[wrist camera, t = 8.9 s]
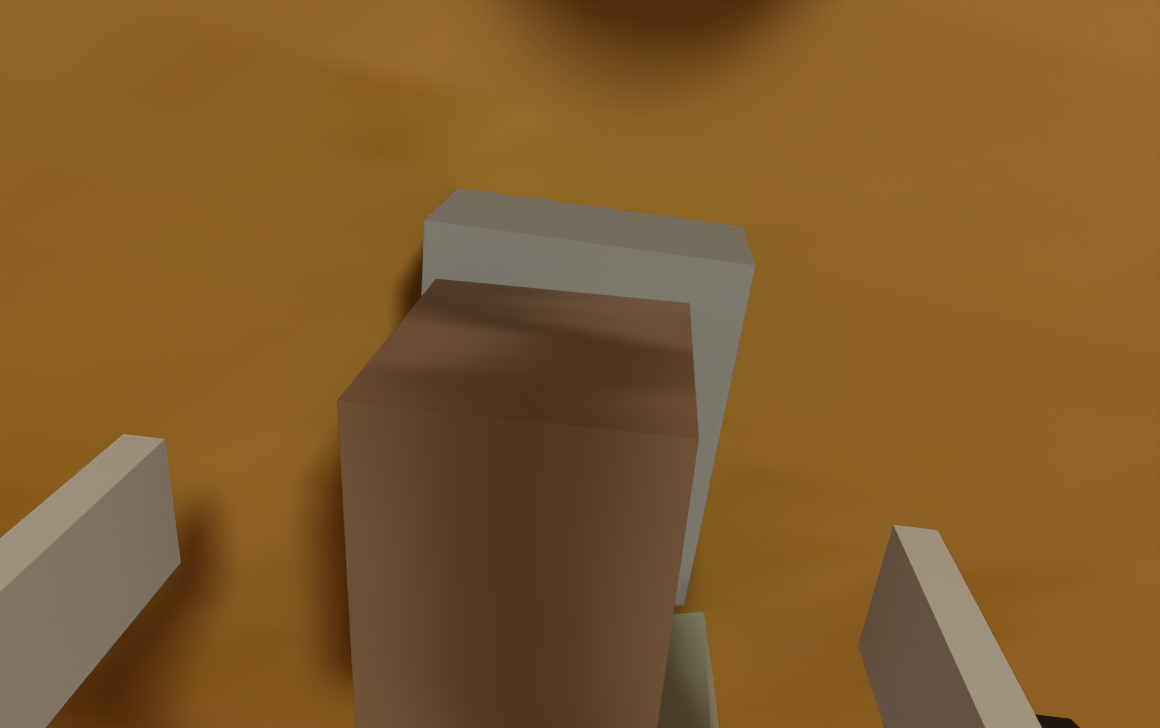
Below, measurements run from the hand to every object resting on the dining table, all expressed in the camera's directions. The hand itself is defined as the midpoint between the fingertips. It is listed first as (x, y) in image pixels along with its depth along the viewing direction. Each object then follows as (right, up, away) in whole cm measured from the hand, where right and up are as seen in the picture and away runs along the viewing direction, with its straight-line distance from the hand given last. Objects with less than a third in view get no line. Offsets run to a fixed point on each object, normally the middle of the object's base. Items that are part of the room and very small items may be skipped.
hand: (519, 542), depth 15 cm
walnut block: (0, +2, +4) cm, 5 cm away
